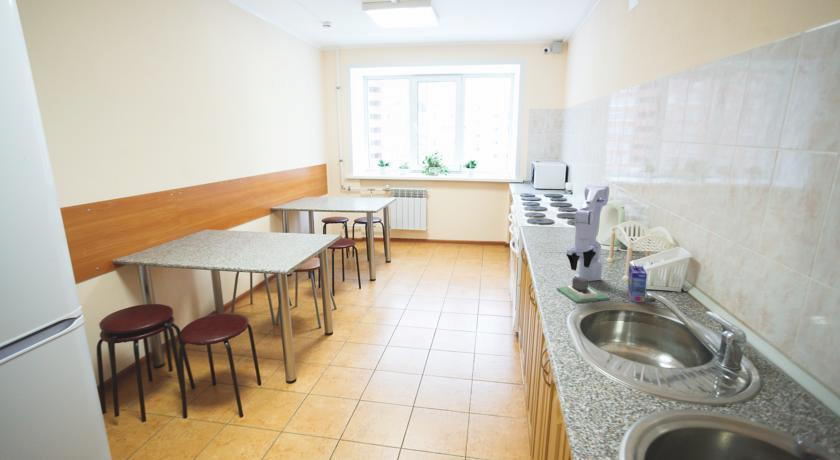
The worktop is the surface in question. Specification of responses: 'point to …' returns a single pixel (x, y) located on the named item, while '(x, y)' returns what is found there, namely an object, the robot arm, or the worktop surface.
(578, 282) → the plug
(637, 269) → the ink cartridge box
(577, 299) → the header board
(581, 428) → the worktop surface
